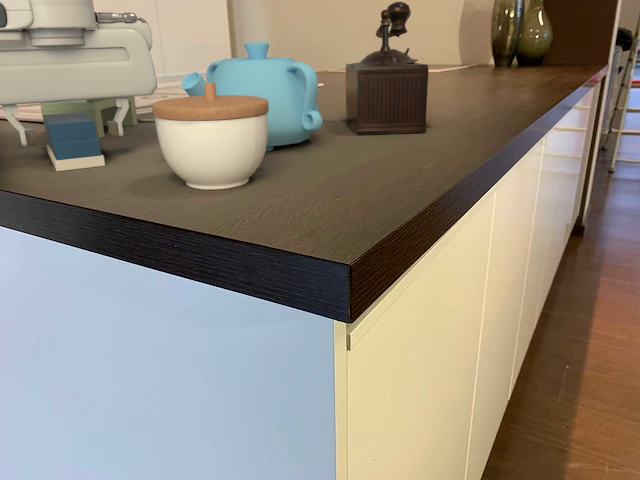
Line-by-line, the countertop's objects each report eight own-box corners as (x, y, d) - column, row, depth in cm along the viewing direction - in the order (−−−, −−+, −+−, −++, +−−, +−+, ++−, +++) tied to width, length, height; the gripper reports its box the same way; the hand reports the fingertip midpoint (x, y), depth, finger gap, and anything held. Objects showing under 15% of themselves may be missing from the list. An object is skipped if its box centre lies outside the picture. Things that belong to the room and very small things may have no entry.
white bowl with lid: (217, 164, 60) (209, 77, 57) (293, 177, 54) (290, 80, 51) (138, 186, 52) (124, 85, 48) (218, 203, 46) (209, 90, 43)
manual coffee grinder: (431, 132, 77) (439, -5, 71) (355, 135, 76) (357, -4, 70) (403, 117, 92) (408, 2, 85) (339, 119, 90) (339, 3, 84)
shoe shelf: (46, 138, 77) (36, 88, 75) (92, 124, 89) (85, 80, 87) (99, 138, 77) (91, 87, 74) (138, 124, 89) (132, 80, 86)
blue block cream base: (48, 154, 67) (40, 114, 65) (90, 149, 69) (84, 111, 68) (56, 171, 58) (47, 126, 56) (105, 165, 60) (98, 122, 59)
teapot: (355, 141, 72) (356, 40, 67) (253, 171, 57) (246, 44, 52) (247, 128, 83) (242, 41, 78) (138, 151, 68) (123, 44, 63)
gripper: (142, 13, 65) (157, 128, 70) (-58, 13, 56) (-25, 145, 61) (155, 11, 60) (169, 135, 65) (-63, 10, 51) (-27, 155, 56)
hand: (74, 140), depth 63 cm, fingers open, 8 cm apart
